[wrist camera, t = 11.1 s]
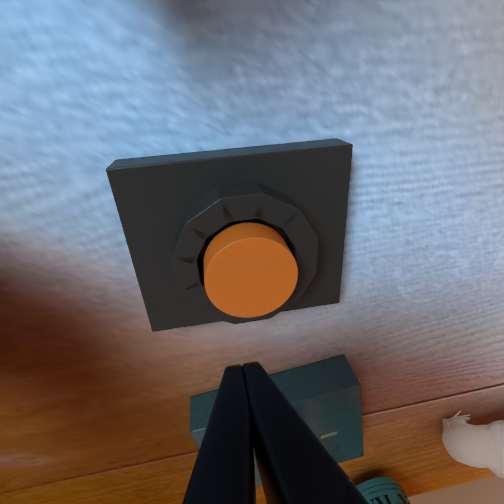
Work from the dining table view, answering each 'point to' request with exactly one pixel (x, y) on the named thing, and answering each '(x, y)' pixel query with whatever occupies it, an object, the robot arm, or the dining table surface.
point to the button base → (232, 220)
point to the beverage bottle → (382, 491)
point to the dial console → (309, 406)
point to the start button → (249, 270)
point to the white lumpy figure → (475, 443)
